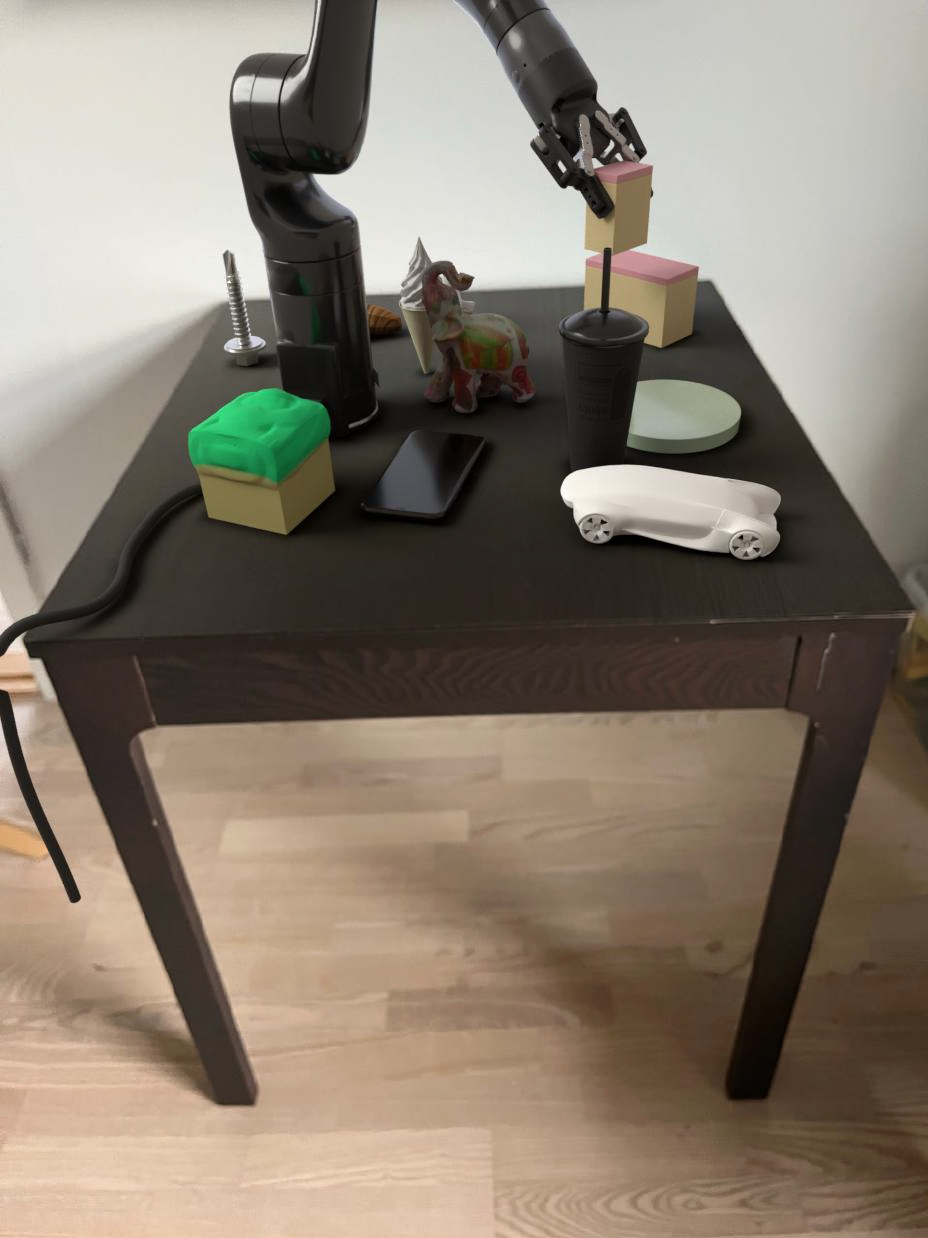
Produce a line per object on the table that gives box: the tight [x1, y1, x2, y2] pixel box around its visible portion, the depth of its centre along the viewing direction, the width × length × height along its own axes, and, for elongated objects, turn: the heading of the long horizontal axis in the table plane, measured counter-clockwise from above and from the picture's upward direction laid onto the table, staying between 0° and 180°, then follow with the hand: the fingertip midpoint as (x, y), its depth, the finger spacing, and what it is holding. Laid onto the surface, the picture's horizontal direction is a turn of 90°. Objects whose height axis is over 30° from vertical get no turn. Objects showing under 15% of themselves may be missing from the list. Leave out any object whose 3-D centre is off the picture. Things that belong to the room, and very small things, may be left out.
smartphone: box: [360, 429, 487, 523], centre depth 90 cm, size 8×1×16 cm
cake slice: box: [584, 159, 654, 256], centre depth 104 cm, size 4×6×8 cm, turn 134°
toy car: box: [560, 464, 782, 561], centre depth 81 cm, size 18×8×4 cm, turn 75°
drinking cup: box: [558, 247, 649, 473], centre depth 85 cm, size 8×8×20 cm
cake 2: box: [583, 249, 700, 349], centre depth 116 cm, size 12×6×8 cm, turn 44°
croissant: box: [367, 301, 403, 337], centre depth 119 cm, size 14×7×5 cm, turn 85°
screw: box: [221, 249, 267, 367], centre depth 111 cm, size 13×5×5 cm
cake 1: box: [187, 387, 336, 536], centre depth 85 cm, size 10×11×10 cm
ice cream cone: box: [398, 236, 443, 375], centre depth 106 cm, size 5×5×15 cm
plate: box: [626, 379, 742, 454], centre depth 98 cm, size 14×14×2 cm
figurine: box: [421, 260, 536, 414], centre depth 98 cm, size 8×12×15 cm, turn 73°
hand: (627, 206), depth 103 cm, fingers closed on cake slice, 6 cm apart
